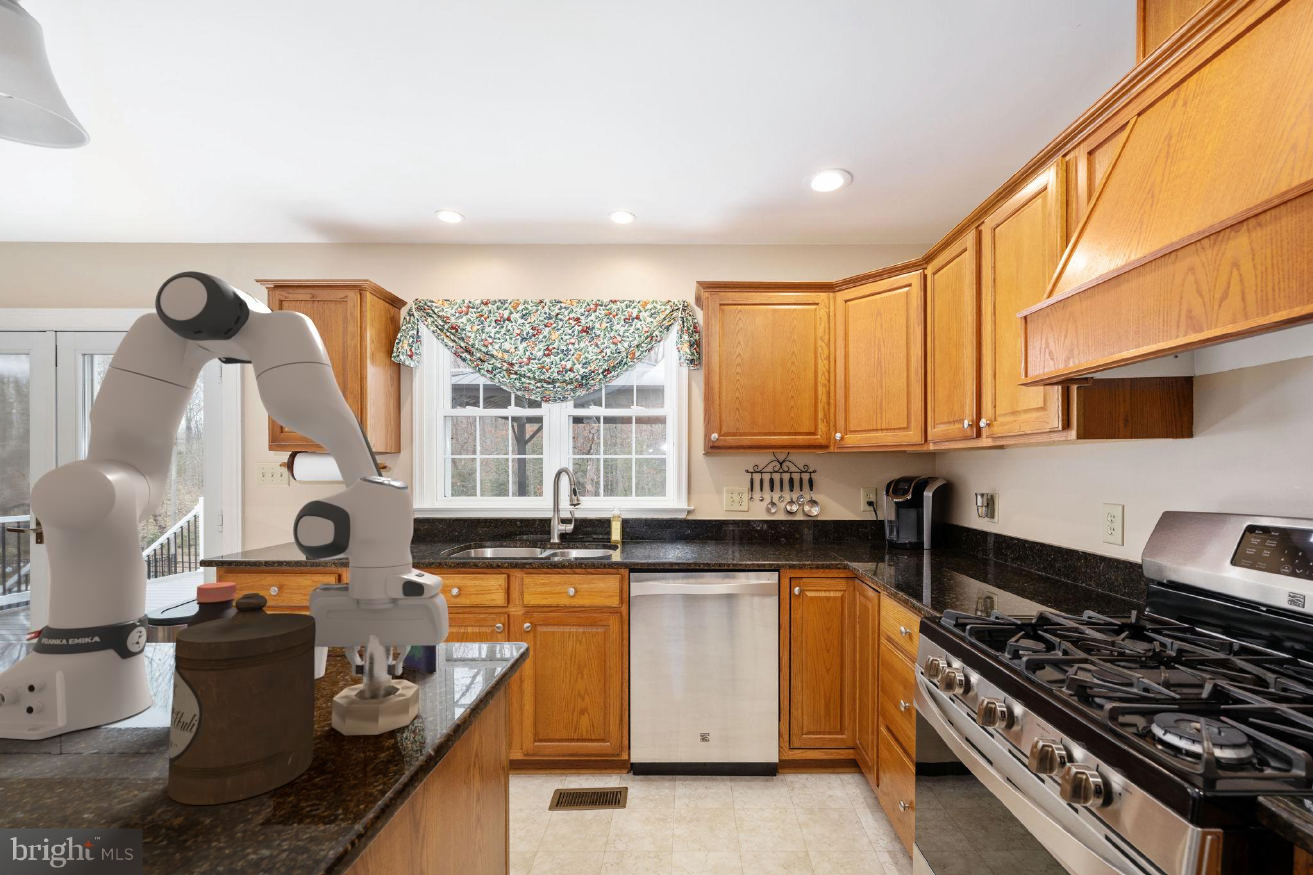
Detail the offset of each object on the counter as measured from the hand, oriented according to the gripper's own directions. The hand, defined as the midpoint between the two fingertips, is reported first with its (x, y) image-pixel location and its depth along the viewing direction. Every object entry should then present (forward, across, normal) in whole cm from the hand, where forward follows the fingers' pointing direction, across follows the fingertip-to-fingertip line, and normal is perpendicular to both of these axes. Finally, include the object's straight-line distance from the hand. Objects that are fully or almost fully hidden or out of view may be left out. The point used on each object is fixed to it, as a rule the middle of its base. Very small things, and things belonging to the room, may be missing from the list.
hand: (377, 674), depth 92 cm
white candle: (+6, 0, 0) cm, 6 cm away
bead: (+7, 0, 0) cm, 7 cm away
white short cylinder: (+7, -20, +21) cm, 30 cm away
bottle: (+7, -25, +2) cm, 26 cm away
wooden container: (+7, -10, -16) cm, 20 cm away
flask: (+7, -1, +24) cm, 25 cm away
